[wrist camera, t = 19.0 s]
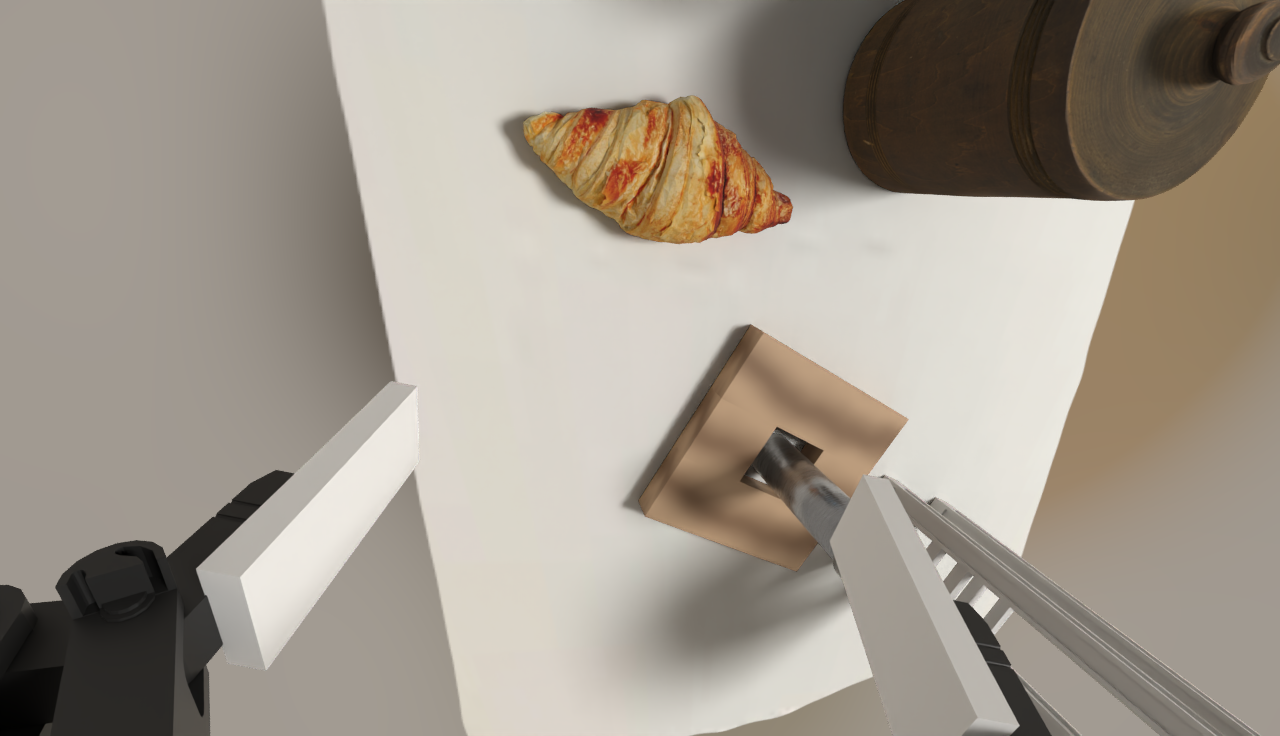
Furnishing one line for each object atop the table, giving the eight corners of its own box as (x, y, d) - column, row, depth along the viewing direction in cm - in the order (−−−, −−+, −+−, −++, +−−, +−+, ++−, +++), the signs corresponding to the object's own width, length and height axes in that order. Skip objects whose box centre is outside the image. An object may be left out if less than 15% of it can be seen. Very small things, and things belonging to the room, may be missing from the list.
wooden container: (1023, 41, 43) (1468, -66, 24) (941, 215, 47) (1262, 248, 27) (892, -45, 38) (1317, -274, 18) (812, 157, 42) (1091, 148, 22)
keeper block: (750, 324, 46) (764, 332, 44) (891, 408, 54) (908, 419, 52) (638, 500, 50) (645, 516, 48) (785, 555, 58) (796, 571, 55)
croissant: (513, 171, 40) (504, 228, 35) (539, 29, 33) (533, 73, 28) (750, 237, 47) (772, 293, 41) (812, 129, 40) (849, 181, 34)
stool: (968, 493, 62) (1458, 831, 30) (894, 592, 65) (1270, 991, 34) (882, 453, 56) (1381, 822, 24) (806, 564, 59) (1161, 1017, 28)
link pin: (764, 422, 50) (872, 523, 36) (801, 440, 52) (917, 544, 38) (736, 464, 51) (829, 580, 37) (773, 481, 53) (876, 597, 39)
